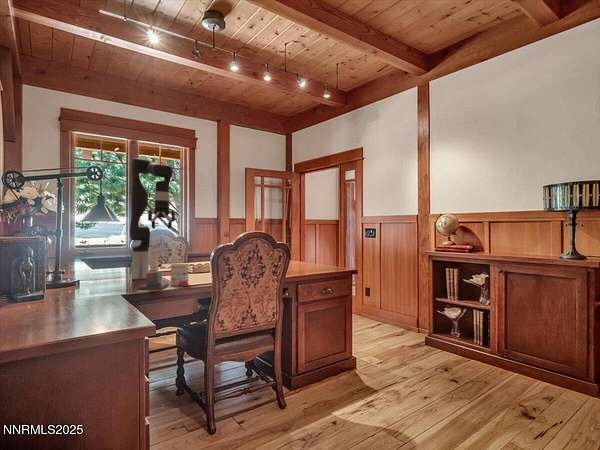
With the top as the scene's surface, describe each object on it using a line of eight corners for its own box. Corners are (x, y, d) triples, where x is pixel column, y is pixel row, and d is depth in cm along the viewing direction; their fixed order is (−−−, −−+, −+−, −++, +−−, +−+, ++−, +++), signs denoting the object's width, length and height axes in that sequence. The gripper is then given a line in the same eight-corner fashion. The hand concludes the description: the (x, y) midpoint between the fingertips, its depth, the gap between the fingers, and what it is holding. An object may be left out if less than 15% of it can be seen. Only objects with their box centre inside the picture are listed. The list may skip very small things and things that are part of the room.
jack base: (138, 289, 180) (138, 274, 180) (146, 285, 192) (146, 271, 192) (161, 289, 181) (162, 274, 181) (168, 285, 193) (168, 271, 193)
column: (149, 274, 185) (149, 245, 185) (151, 273, 188) (151, 245, 188) (156, 274, 185) (156, 245, 185) (158, 273, 188) (158, 245, 188)
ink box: (188, 284, 198) (188, 263, 198) (184, 285, 193) (185, 264, 193) (174, 283, 199) (174, 263, 199) (170, 285, 194) (170, 264, 194)
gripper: (176, 200, 200) (176, 228, 200) (151, 200, 199) (150, 228, 199) (172, 200, 192) (172, 229, 192) (146, 199, 191) (146, 228, 191)
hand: (161, 228), depth 196 cm, fingers open, 8 cm apart
